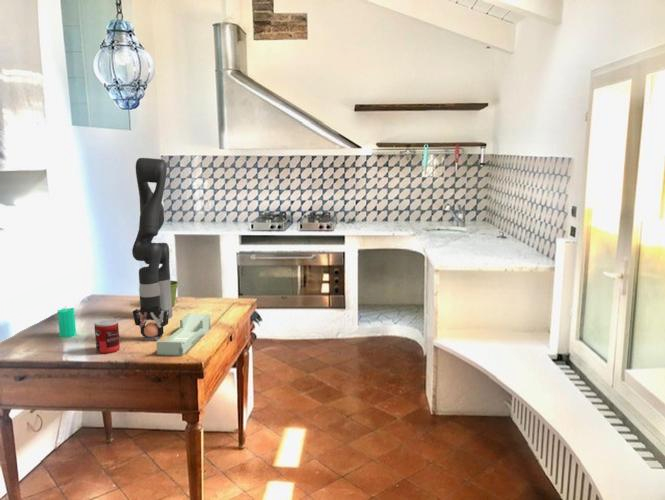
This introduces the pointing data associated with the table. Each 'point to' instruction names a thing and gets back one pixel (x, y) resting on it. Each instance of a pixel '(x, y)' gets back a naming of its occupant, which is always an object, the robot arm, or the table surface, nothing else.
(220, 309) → the table surface
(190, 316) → the lane
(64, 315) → the candle
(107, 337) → the canned food
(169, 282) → the robot arm
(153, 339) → the grey picture frame
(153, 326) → the ball
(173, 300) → the plant pot
